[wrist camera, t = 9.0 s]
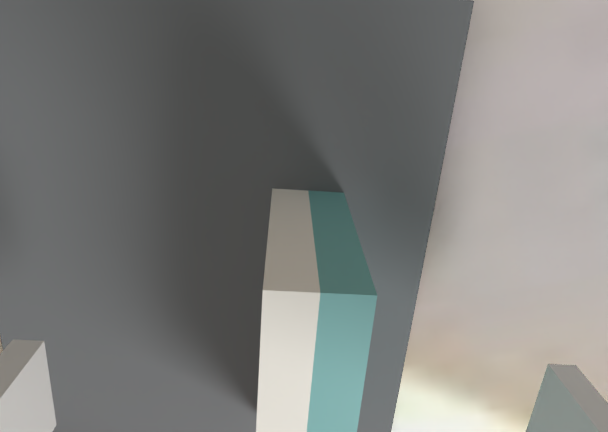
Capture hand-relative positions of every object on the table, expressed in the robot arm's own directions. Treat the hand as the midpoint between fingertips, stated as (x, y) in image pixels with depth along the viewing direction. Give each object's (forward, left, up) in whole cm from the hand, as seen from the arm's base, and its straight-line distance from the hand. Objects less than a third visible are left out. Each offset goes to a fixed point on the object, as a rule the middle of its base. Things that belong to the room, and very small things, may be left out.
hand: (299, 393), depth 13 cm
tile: (0, 0, -4) cm, 4 cm away
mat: (0, -3, -4) cm, 5 cm away
